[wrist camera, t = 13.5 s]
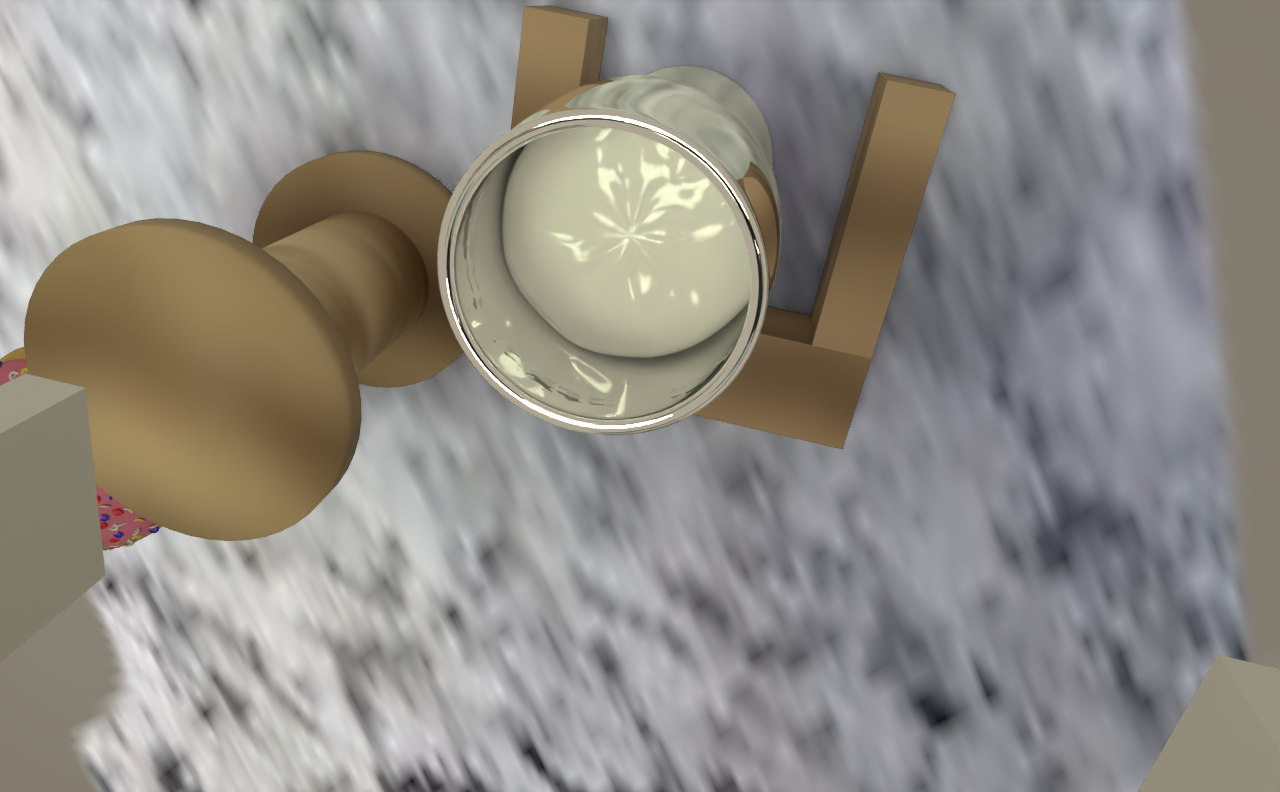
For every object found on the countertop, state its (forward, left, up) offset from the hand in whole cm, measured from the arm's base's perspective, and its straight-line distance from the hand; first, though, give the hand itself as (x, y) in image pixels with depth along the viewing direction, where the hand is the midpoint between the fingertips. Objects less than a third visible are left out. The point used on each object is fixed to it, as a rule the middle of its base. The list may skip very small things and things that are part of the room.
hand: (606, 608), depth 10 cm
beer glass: (+1, +2, -23) cm, 23 cm away
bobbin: (-5, +13, -23) cm, 27 cm away
